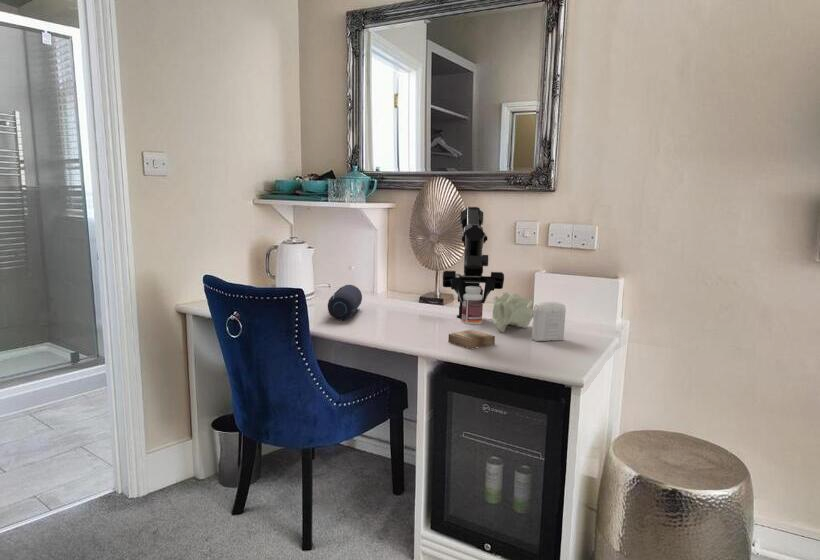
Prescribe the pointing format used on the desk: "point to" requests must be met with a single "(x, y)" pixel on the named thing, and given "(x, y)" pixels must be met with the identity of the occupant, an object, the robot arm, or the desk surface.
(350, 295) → the portable speaker
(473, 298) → the pill bottle
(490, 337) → the plinth
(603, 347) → the desk surface
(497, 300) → the wavy plaster lump
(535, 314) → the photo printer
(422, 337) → the desk surface
